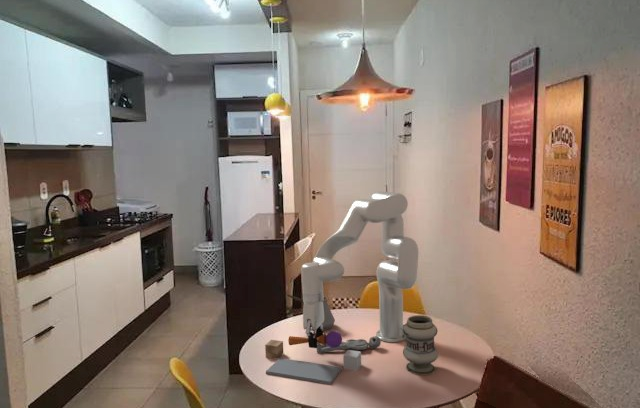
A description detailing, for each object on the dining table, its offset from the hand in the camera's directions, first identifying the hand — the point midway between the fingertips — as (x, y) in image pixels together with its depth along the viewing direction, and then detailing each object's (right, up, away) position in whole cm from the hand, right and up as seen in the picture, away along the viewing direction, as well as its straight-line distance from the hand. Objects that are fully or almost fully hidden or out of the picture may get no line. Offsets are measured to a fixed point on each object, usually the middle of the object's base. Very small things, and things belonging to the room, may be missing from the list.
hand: (316, 343), depth 172 cm
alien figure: (+13, -5, +9) cm, 16 cm away
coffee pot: (-3, -3, +33) cm, 33 cm away
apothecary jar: (+37, -6, -9) cm, 38 cm away
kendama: (0, -1, 0) cm, 1 cm away
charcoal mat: (-4, -7, -9) cm, 12 cm away
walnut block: (-16, -6, +5) cm, 18 cm away
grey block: (+13, -6, -6) cm, 16 cm away
